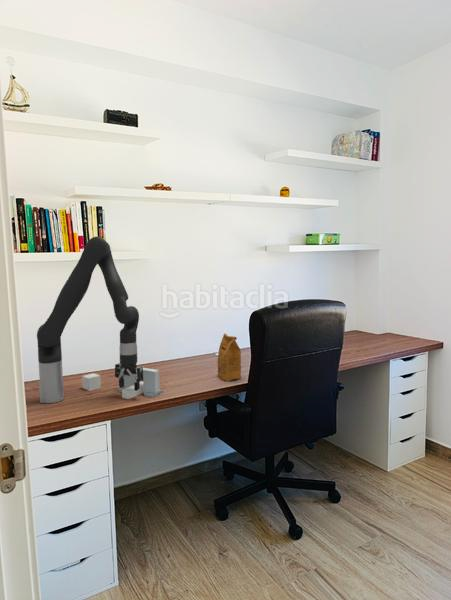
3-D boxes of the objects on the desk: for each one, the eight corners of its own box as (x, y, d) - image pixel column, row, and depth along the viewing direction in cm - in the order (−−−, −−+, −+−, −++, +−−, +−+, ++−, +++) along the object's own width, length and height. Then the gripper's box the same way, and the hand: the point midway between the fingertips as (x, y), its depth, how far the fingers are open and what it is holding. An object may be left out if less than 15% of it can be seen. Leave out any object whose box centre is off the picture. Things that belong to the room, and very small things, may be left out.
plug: (129, 399, 181) (128, 389, 181) (121, 397, 183) (121, 388, 183) (156, 386, 198) (156, 377, 197) (149, 385, 200) (148, 376, 199)
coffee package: (232, 373, 219) (232, 331, 217) (243, 379, 208) (243, 336, 205) (214, 376, 215) (214, 333, 212) (225, 382, 203) (224, 337, 201)
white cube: (82, 388, 197) (82, 375, 196) (94, 385, 201) (93, 373, 201) (89, 391, 193) (88, 378, 192) (100, 388, 197) (100, 375, 197)
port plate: (151, 397, 183) (151, 373, 181) (117, 391, 192) (116, 367, 191) (162, 392, 190) (162, 368, 188) (128, 386, 199) (128, 363, 198)
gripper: (146, 352, 182) (147, 388, 184) (122, 349, 189) (122, 384, 191) (135, 356, 176) (135, 393, 177) (110, 352, 183) (110, 388, 184)
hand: (129, 388), depth 184 cm, fingers open, 8 cm apart
